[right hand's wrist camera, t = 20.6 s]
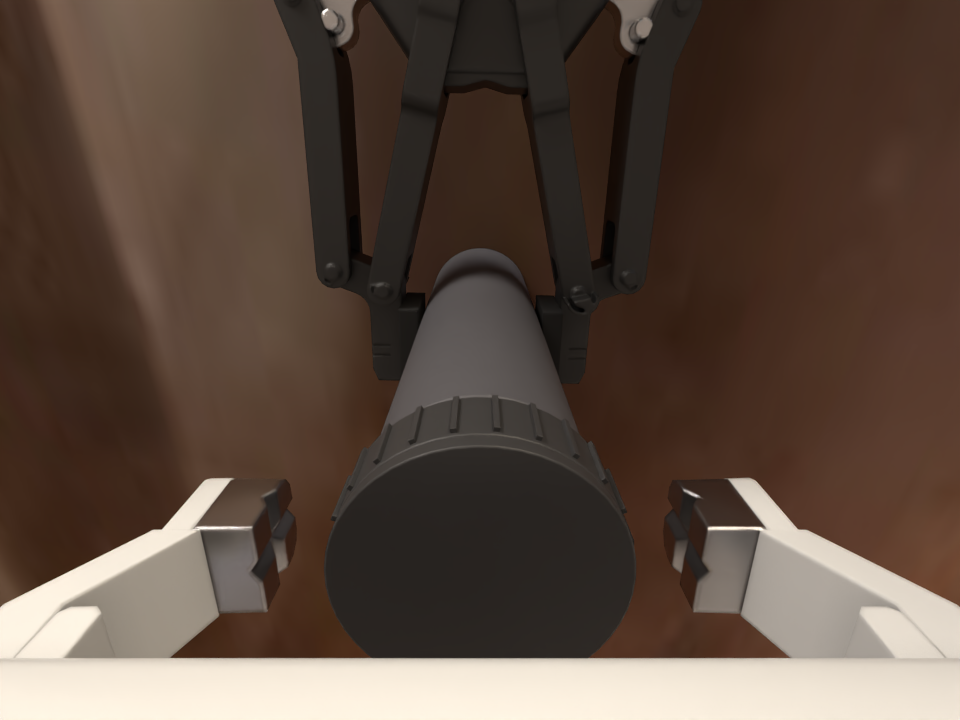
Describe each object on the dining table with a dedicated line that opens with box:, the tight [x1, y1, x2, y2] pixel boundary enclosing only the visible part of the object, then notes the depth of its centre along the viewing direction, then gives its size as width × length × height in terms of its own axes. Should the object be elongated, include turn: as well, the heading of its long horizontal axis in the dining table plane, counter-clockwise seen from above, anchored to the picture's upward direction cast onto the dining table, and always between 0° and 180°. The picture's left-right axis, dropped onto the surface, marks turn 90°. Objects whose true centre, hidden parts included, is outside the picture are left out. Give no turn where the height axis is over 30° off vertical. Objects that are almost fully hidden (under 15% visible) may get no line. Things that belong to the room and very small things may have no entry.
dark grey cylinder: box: [381, 248, 579, 434], centre depth 18 cm, size 5×5×19 cm
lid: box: [324, 395, 636, 658], centre depth 10 cm, size 5×5×2 cm
